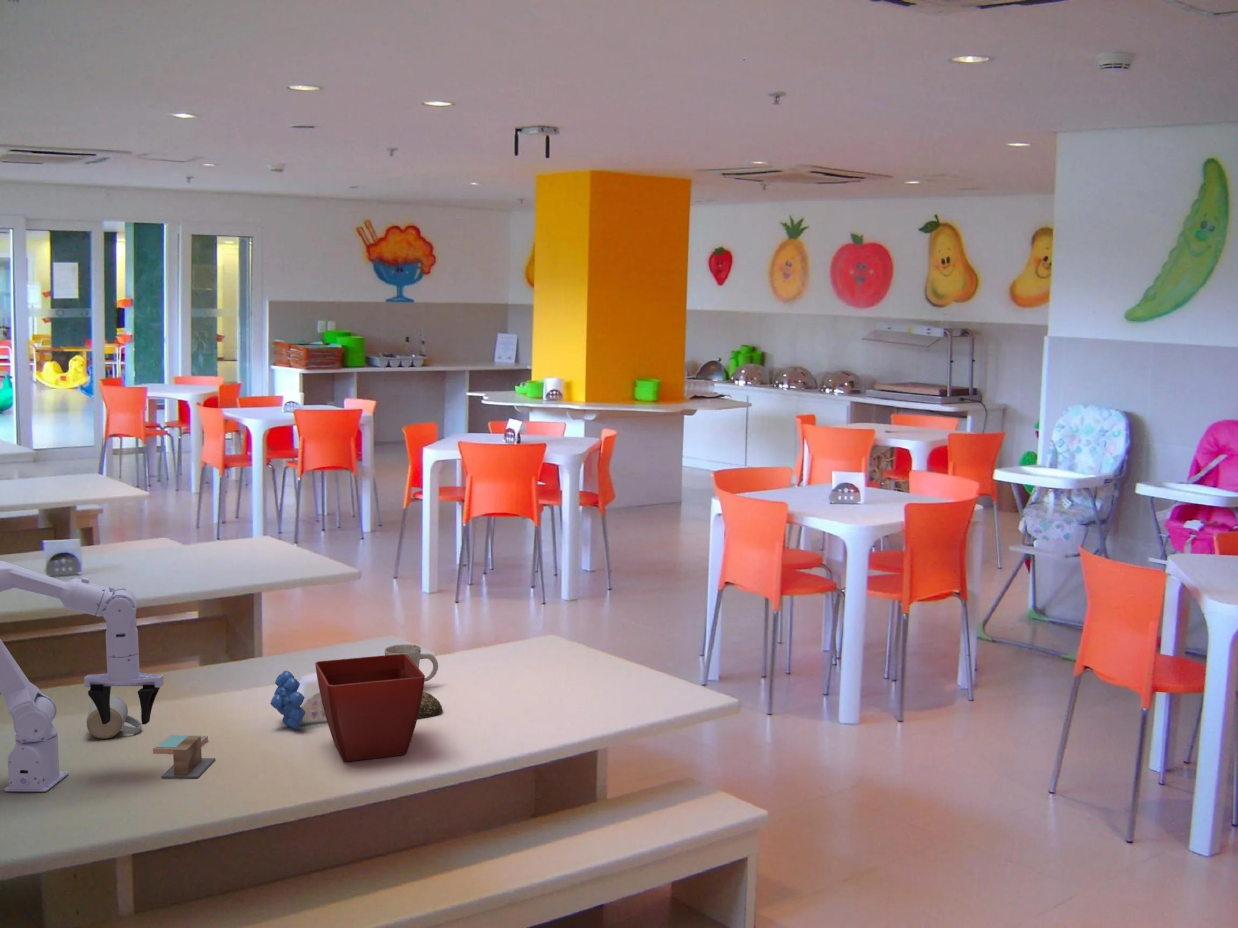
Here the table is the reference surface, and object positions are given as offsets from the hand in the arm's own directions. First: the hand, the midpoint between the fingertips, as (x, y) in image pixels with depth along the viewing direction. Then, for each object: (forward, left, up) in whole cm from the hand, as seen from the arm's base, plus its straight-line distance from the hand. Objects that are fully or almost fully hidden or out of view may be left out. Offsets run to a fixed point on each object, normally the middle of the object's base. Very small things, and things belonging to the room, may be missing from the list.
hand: (126, 722), depth 242 cm
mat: (+2, -11, -10) cm, 15 cm away
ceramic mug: (+23, +12, -10) cm, 28 cm away
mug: (+55, -45, -10) cm, 72 cm away
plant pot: (+14, -44, -10) cm, 47 cm away
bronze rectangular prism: (+2, -11, -10) cm, 15 cm away
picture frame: (+11, -5, -10) cm, 15 cm away
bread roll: (+39, -48, -10) cm, 62 cm away
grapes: (+27, -23, -10) cm, 37 cm away
